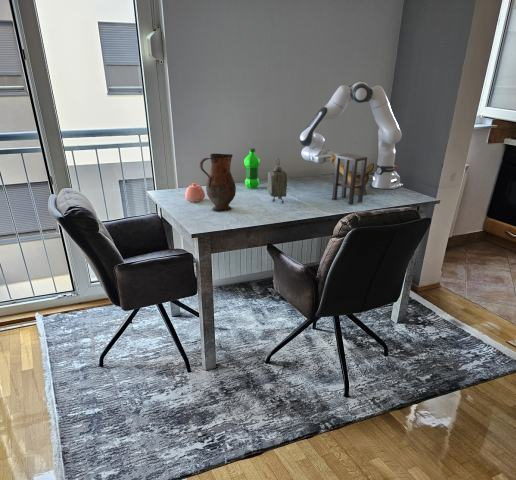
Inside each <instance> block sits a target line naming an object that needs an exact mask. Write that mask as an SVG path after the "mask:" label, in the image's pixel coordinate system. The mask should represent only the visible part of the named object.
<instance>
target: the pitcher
mask: <svg viewBox="0 0 516 480" xmlns="http://www.w3.org/2000/svg"><path fill="white" fill-rule="evenodd" d="M233 156H234V155H233V154H232V153H231V154H229V153H211V154H210V155H209V157H204V158H201V160H200V163H199V168H200V170H201V171H202V172H203V173H204V174H205V175H206V176H207V177H208V179H207V181H206V185H205V186H206V187H205V191H206V195H207V197H208V199H209V201H210V202H211V203H212V204H213V205H214V206H213V207H212V210H213V211H214V212H228V211H230V210H231V209H232V207H231V206H230V204H231V203H232V201H234V198H235V197H236V192H237V186H236V182H235V180H234V177H233V175H232V172H231V164H232V159H233ZM207 160H209V161H210V171H209V173H207V172H206V170H205V169H204V166H203V165H204V163H205V161H207Z"/></svg>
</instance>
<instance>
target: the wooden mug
mask: <svg viewBox="0 0 516 480" xmlns="http://www.w3.org/2000/svg"><path fill="white" fill-rule="evenodd" d="M374 168H375V164H374V162H373V163H371V164H369V165H368V166H366V174H365V182H364V191H363V196H364V195H366V194H367V185H368V182H369V179H370V174H371V173H372V171H374ZM360 176H361V174H356V182H355V185H360ZM354 195H357V196H358V195H359V188H355V192H354Z"/></svg>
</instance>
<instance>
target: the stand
mask: <svg viewBox="0 0 516 480" xmlns="http://www.w3.org/2000/svg"><path fill="white" fill-rule="evenodd" d="M339 154H340V153H339ZM341 159H342V160H344V164H343V165H344V174H343V175H342V182H339V180H340V171H339V168H340V162H341ZM350 162H352V166H351V174H352V175H351V183H349V182H348V171H349V169H350ZM358 162H361V169H360V175H361V176H360V185H355V182H356V175H357V172H358ZM367 164H368V156H364V155H359V154H353V153H347V152H346V153H341V154H340V155H336V161H335V165H334V175H333V188H332V200H337V199H338V189H339V187H341V198H344V199H345V198H346V197H347V189H349V195H348V205H354V200H355V194H354V192H355V188H359V195H357V203H362V202H363V199H364V195H363V191H364V182H365V174H366V168H367Z"/></svg>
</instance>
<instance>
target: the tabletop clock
mask: <svg viewBox="0 0 516 480" xmlns="http://www.w3.org/2000/svg"><path fill="white" fill-rule="evenodd" d="M276 161H277V162H276V166H275V167H274V168H273V169H272V170H270V171H268V172H267V193H268V195H269V196H270V197H273V198H272V199H271V201H272V202H275V201H276V199H275V198H278V200H281V204H284V203H285V201H284V200H283V198H284V197H287V190H288V175H287V172H286V170H284V169H282V167H281V166H280V158H278V157H277V158H276Z"/></svg>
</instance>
